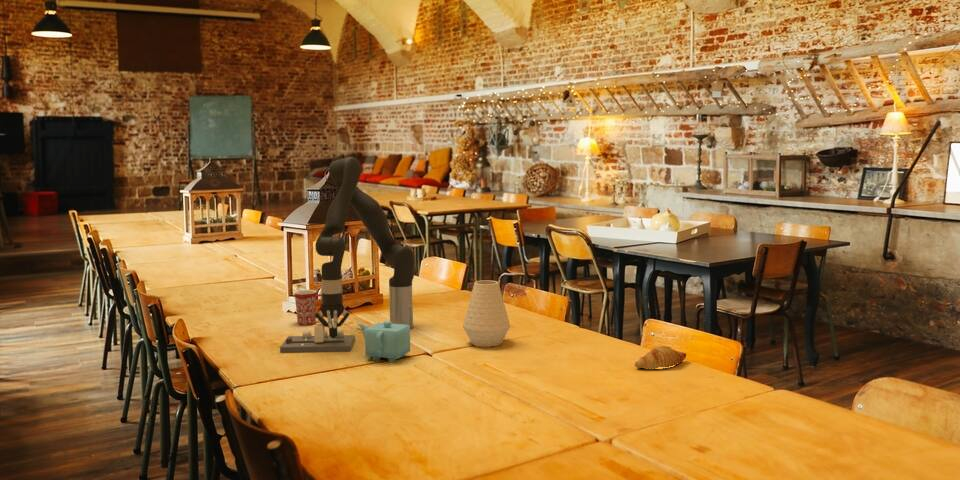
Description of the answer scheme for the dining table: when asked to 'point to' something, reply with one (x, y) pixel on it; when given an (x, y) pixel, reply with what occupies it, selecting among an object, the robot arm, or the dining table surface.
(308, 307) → the mug
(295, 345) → the console
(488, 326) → the vase
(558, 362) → the dining table surface
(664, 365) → the croissant
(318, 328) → the block
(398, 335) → the teapot
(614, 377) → the dining table surface
